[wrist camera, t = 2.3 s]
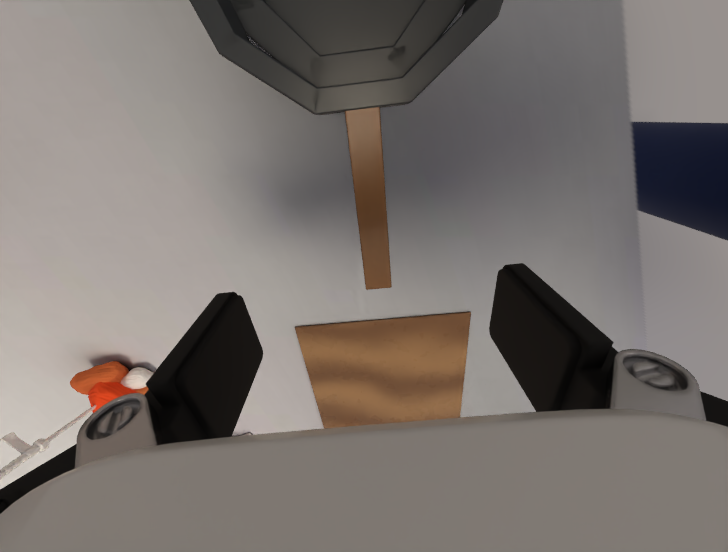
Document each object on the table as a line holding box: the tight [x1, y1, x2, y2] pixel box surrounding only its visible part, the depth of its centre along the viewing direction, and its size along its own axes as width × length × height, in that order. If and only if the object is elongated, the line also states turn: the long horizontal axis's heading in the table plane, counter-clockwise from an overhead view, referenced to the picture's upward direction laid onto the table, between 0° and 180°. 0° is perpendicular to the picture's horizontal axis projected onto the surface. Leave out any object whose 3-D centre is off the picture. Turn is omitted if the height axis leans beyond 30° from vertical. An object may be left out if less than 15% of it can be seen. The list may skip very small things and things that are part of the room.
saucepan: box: [190, 0, 503, 290], centre depth 14 cm, size 23×14×6 cm, turn 6°
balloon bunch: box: [0, 361, 154, 479], centre depth 23 cm, size 6×10×12 cm, turn 44°
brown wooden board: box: [295, 312, 471, 429], centre depth 29 cm, size 16×16×1 cm
